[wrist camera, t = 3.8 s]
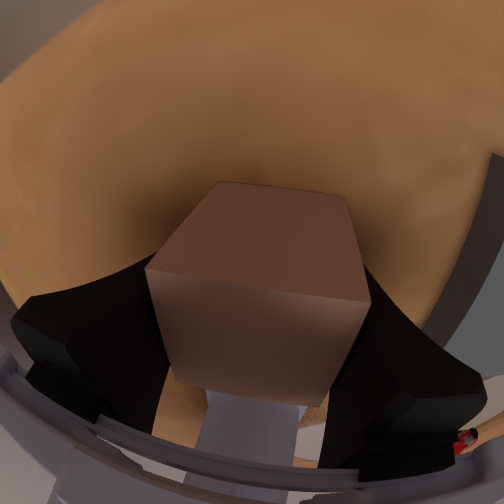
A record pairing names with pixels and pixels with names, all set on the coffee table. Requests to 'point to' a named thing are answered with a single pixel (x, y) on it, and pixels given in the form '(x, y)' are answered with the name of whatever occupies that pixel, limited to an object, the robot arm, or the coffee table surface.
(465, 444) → the race car
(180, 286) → the terracotta block
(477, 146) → the coffee table surface
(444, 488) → the robot arm
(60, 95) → the coffee table surface
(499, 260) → the charcoal flat pad
